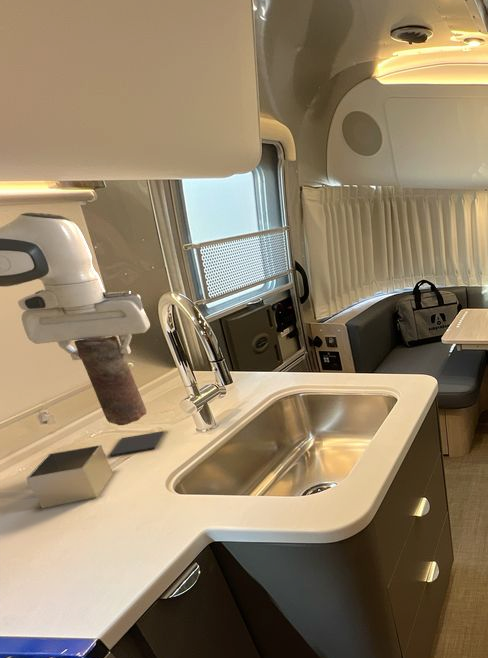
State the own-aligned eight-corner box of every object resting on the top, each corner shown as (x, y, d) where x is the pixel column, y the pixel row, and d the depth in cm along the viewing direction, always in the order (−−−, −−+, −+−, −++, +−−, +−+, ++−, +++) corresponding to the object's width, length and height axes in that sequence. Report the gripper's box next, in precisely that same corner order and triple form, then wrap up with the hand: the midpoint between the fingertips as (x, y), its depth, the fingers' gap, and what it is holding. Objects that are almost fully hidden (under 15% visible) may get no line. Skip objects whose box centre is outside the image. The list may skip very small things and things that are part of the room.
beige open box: (42, 508, 94) (26, 478, 91) (63, 481, 102) (48, 453, 99) (96, 497, 97) (83, 467, 94) (113, 472, 105) (101, 444, 102)
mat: (111, 456, 111) (110, 454, 111) (122, 439, 118) (122, 438, 118) (154, 448, 114) (154, 446, 114) (163, 432, 121) (163, 431, 121)
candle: (99, 423, 111) (65, 340, 103) (132, 410, 118) (103, 331, 109) (122, 428, 109) (89, 344, 101) (155, 414, 115) (127, 334, 107)
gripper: (142, 287, 108) (162, 345, 113) (22, 296, 100) (50, 358, 106) (133, 292, 102) (155, 354, 108) (6, 303, 95) (37, 368, 101)
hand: (102, 356), depth 107 cm, fingers closed on candle, 7 cm apart
